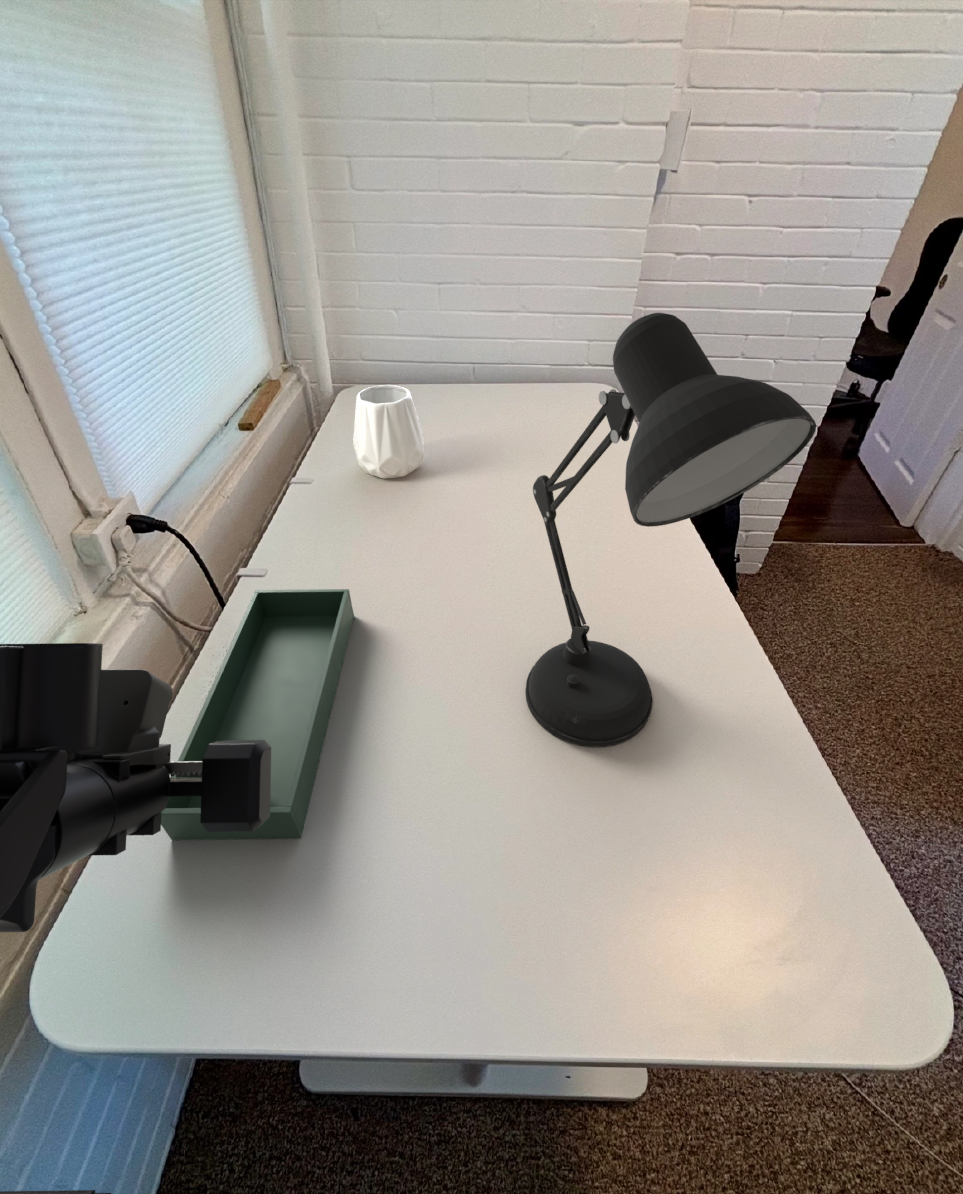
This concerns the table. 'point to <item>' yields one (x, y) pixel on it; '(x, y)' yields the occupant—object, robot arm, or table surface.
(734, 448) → the desk lamp
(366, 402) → the vase
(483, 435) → the table surface
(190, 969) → the table surface
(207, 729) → the green rectangular tray
